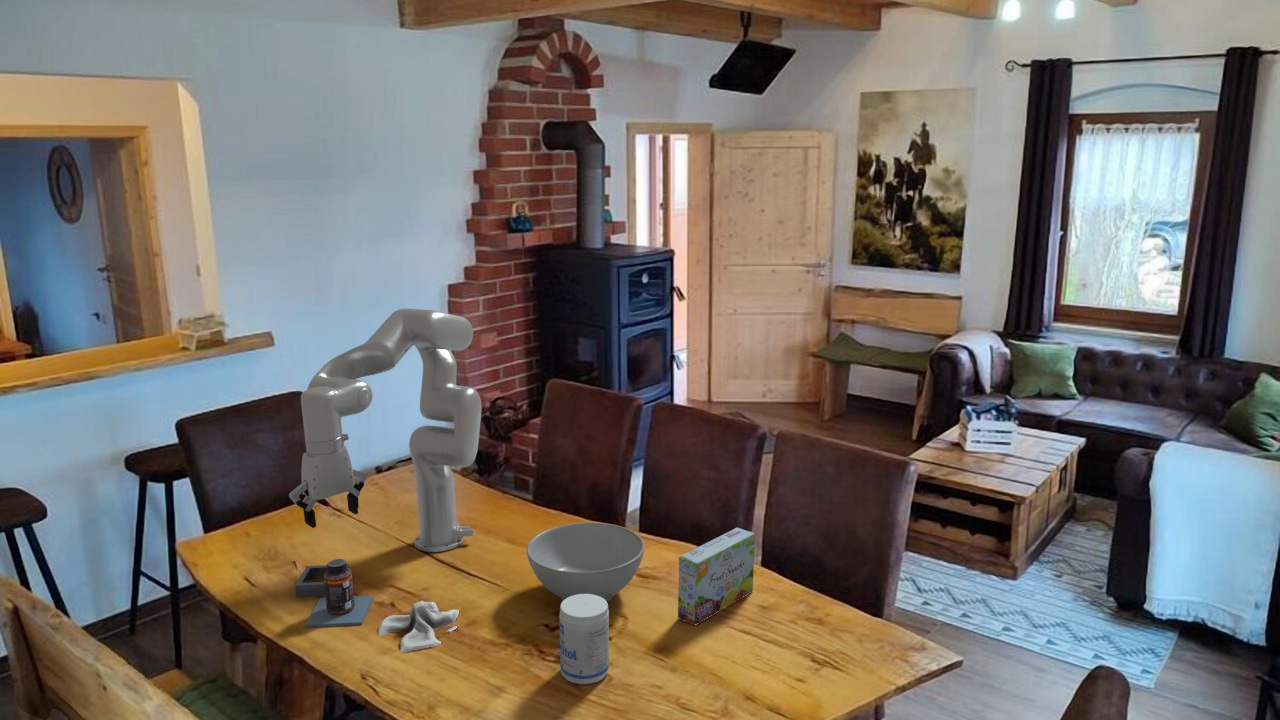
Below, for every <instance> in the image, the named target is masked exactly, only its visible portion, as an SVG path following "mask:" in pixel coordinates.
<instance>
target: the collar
mask: <svg viewBox="0 0 1280 720" xmlns="http://www.w3.org/2000/svg"><path fill="white" fill-rule="evenodd" d="M346 565H347V568H349V569H350V570H351V568H350V563H346ZM327 571H328V569H327V564H324V565H306V566H305V567H304V569H303V571H302V572H301V575H300V577H299V578H298V580H297V581H296V583H295V584H294V591H295V592H294V593H295V599H297V598H311V597H312V598H313V597H314V598H316V597H326V595H325V585H324V581H318V582H317V581H314V582H311V581H312V580H324V574H325V573H326V572H327Z"/></svg>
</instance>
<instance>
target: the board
mask: <svg viewBox="0 0 1280 720" xmlns="http://www.w3.org/2000/svg"><path fill="white" fill-rule="evenodd" d="M373 600H374V595H360V596H359V595H357V596H356V595H354V601H355V603H354V604H355V606H354V608H353V609H352V610H351V611H350V612H347V613H344V614H336V615H335V614H331V613H329V612H328V611H327V605H326V597H320V598H319V600H318V601H317V603H316V605H315V606H314V609H313V610H312V612H311V614H310V615H309V617H308V619H307V620H306V621H307V622H306V623H305V624H304V626H305V628H319V627H320V628H321V627H323V628H324V627H341V626H343V627H344V626H345V627H346V626H361V625H363V623H364V621H365V619H366V617H367V615H368V612H369V610H370V607H371V606H372V603H373Z"/></svg>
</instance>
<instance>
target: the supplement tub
mask: <svg viewBox="0 0 1280 720" xmlns="http://www.w3.org/2000/svg"><path fill="white" fill-rule="evenodd" d="M609 613H610V611H609V604H608V602H607V601H606V600H605V599H603V598H602V597H600V596H597V595H593V594H578V595H573V596H570V597H568V598H566V599H565V600H564V601H563V600H562V601H561V603H560V608H559V653H560V654H559V655H560V656H559V661H560V662H559V663H560V664H559V666H560V673H561V676H562V677H563V678H564V679H565V680H566V681H567V682H568V681H569V683H572V684H577V685H590V684H591V685H592V684H594V683H597V682H600V681H601V680H603V679H604V678H605V677H607V675H608V673H609V669H610V636H609V635H610V625H609V624H610V620H609V619H610V618H609V617H610V616H609V615H610V614H609Z"/></svg>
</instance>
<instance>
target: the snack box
mask: <svg viewBox="0 0 1280 720" xmlns="http://www.w3.org/2000/svg"><path fill="white" fill-rule="evenodd" d="M755 540H756V533H755V532H752V531H749V530H745V529H743V528H740V527H735V528H733V529H732V530H729V531H727V532H726V533H724V534H722V535H720V536H718V537H715V538H713V539H712V540H710V541H708V542H705V543H703V544H702V545H699V546H698V547H696V548H694V549H692V550H689V551H688V552H685V553H684V554H681V555H680V556H678V591H677V593H678V594H677V595H678V596H677V597H678V598H677V599H678V600H677V602H678V603H677V619H679V618H680V619H679V620H681V619H682V620H681V621H683V620H685V621H687V622H689V623H692V624H694V625H695V624H697V623H699V622H701V621H702V620H704V619H706V618H707V617H709V616H711V615H713V614H714V613H716V612H717V611H719V610H721V609H723V608H724V607H726V606H728V605H729V604H731V605H733V604H734V603H733V602H735V601H737V600H738V599H740V598H742V597H743V596H745V595H747V594H748V595H750V594H751V593H750V592H752V591H754V565H755V545H756V544H755V543H756V541H755ZM749 593H750V594H749ZM752 593H753V592H752ZM748 595H747V596H748ZM745 597H746V596H745ZM743 598H744V597H743ZM743 598H742V599H743ZM740 600H741V599H740ZM738 601H739V600H738ZM738 601H737V602H738ZM732 603H733V604H732ZM735 603H736V602H735ZM728 607H729V606H728ZM726 608H727V607H726ZM723 610H724V609H723ZM721 611H722V610H721ZM719 612H720V611H719ZM716 614H717V613H716ZM714 615H715V614H714ZM714 615H713V616H714ZM711 617H712V616H711ZM709 618H710V617H709ZM706 620H707V619H706ZM685 621H684V622H685ZM704 621H705V620H704ZM687 622H686V623H687ZM689 623H688V624H689ZM701 623H702V622H701ZM699 624H700V623H699Z"/></svg>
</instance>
